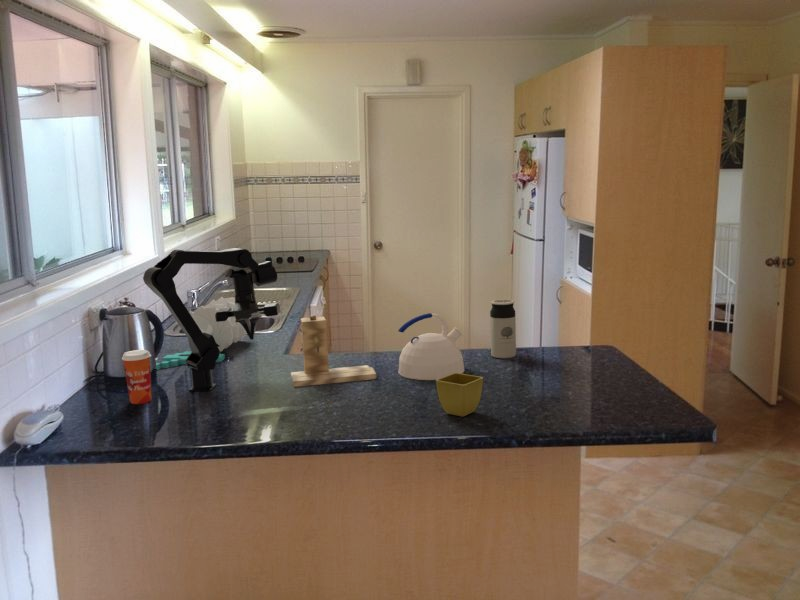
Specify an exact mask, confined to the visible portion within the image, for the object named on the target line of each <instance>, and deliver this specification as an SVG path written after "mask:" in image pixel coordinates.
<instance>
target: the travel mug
mask: <svg viewBox="0 0 800 600" xmlns="http://www.w3.org/2000/svg"><path fill="white" fill-rule="evenodd" d="M514 303H515V300H513V299H501V298H500V299H493V300H491V301H490V304H491V306H492V307H491V310H490V311H489V315H490V352H491V354H490V355H491V357H493V358H495V359H512V358H514V357H516V356H517V339H516V338H517V335H516V331H517V329H516V328H517V327H516V310H515V308H514Z"/></svg>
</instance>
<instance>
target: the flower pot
mask: <svg viewBox="0 0 800 600" xmlns="http://www.w3.org/2000/svg"><path fill="white" fill-rule="evenodd" d="M483 381H484V377H483V376H479V375H478V376H477V375H473V374H472V375H471V374H465V373H462V374H461V373H453V374H450V375H447V376H445V377H442V378H440V379H437V380H435V386H436V390H437V395H438V400H439V403H440V405H441V406H442V408H443V410H444V411H445V413H446V414H447V415H453V416H459V417H465V416H467V415H470V414H472V413H474V412H475V411H476V409H477V407H478V405H479V403H480V401H481V397H482V393H483V392H482V391H483V384H484V382H483Z"/></svg>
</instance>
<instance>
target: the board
mask: <svg viewBox="0 0 800 600" xmlns="http://www.w3.org/2000/svg"><path fill="white" fill-rule="evenodd" d="M290 375H291V379H292V385H293V387H294V388H295V387H297V388H298V387H306V386H317V385H327V384H335V383H336V384H337V383H347V382H357V381H368V380H376V379H377V372H376V371H375V369H374V368H373V367H371V366H369V365H368V364H367V365H366V364H365V365H356V366H345V367H335V368H334V367H333V368H329V371H327V372H316V373H306V374H304V370H301V371H291V372H290Z"/></svg>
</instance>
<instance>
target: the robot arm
mask: <svg viewBox="0 0 800 600" xmlns="http://www.w3.org/2000/svg"><path fill="white" fill-rule="evenodd" d="M185 264H187V265H190V264H191V265H195V264H196V265H223V266H227V267H228V266H229V267H233V268H238V269H236V270H235V269H233V268H229V269H228V271H227V272H226V273H225V275H224V277H225V278H227V279H232V282H233V283H232V284H233V289H234V290H233V291H234V297H235V305H234V308H233V311H232V309H231V308H223V309H219V310H218V311H217V312H216V314H215V318H216V322H220V321H226V320H227V319H228V317H235V319H236V320H235V322H239V323H240V324H241V325H242V326H243V327H244V329H245V330H246V332H247V333H246V334H247V336H248V338H249V339H250V340H252V341H253V340H254V339H255V334H256V329H257V324H258V321H260V320H261V318H262V317H263V314H264V316H266V317H273V316H274V317H275V316H279V313H280V312H281V306H280V304H279V303H278V302H271V303H270V302H269V303H265V305H264V306H262V307H261V306H260V307H259V305H258V302H257V300H256V295H255V293H256V291H255V288H254V284H255V285H256V286H257V287H260V286H261V287H262V286H265V285H269V284H275V283H276V282H277V281H278V272H277V271H276V268H275V267H274V265H273V263H272V261H269V260H268V261H267V260H266V261H264V262H259V263H258V262H257V261H256V260H255V259H254V258H253V256H252V253H251V252H250V251H249V250H248V249H245V248H239V247H233V248H225V249H222V250H217V251H215V250H214V251H213V250H183V249H173V250H171V251H170V252H169V253H168V254H167V256H165V257H164V258H162V259H161V260H160V261H159V262H157V263H156V264H155V265H154V266H153V267H152V266H151V267H150V268H147V269H146V270H145V272H144V273H143V277H142V279H143V282H144V284H145V285H146V286H147V288H149V289H150V290H151V291H152V293H154V294H155V295H157V297H159V298H160V299H161V300H162V301H163V303H164V305H165V306H166V307H167V309H168V311H169V312H170V314H171V315H172V317H173V319H175V321H176V324H178V326H179V327H180V328H181V330H182V332H183V333H184V334H185V336H186V338H187V340H188V346H189V348H190V351H192V353H191V354H190V355H189V356H188V358H187V359H186V360H185V362H186V364H185V365H187V367H188V368H190V373H191V385H192V386H191V387H190V388H188V392H205V391H206V392H210V391H211V390H213V388H215V386H217V383H216V382H213V377H212V376H213V375H212V370H215V366H216V363H217V362H216V360H217V359H218V357H219V354H221V352H220V351H219V348H218V347H219V346H220V345H218V344H217V343H216V342H215V339H214V337H213V336H212V335H210V334H207V333H202V331H201V330H200V328H199V327H198V325H197V324H196V322H195V321H194V319H193V318H192V316H191V315H190V313H189V312H190V311H189V310H188V309H187V307H186V304H184V302H183V301H182V299H181V298H180V296H179V294H178V293H177V288H176V283H175V282H174V278H175V277H176V276H177V275H178V274H179V272H180V270H181V269H182V267H183V266H184V265H185ZM246 269H249V270H246ZM249 318H250V319H249ZM249 321H250V322H249Z"/></svg>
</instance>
